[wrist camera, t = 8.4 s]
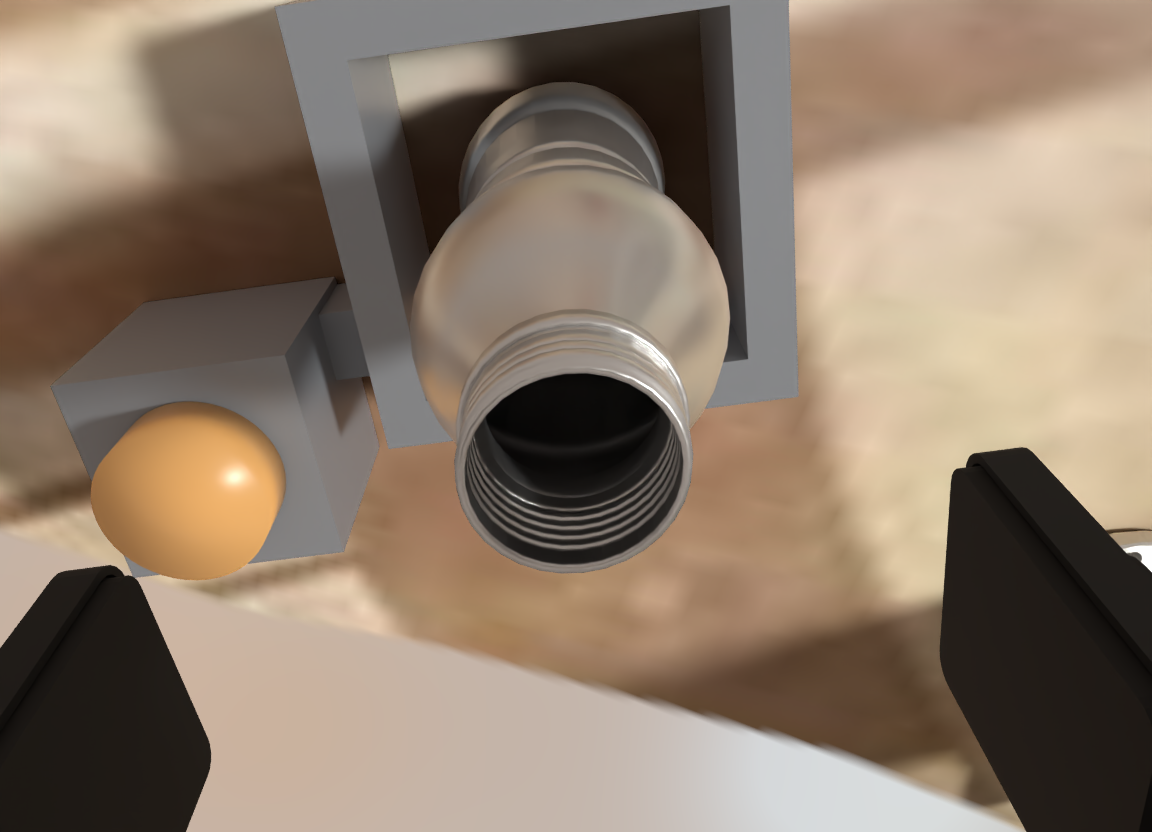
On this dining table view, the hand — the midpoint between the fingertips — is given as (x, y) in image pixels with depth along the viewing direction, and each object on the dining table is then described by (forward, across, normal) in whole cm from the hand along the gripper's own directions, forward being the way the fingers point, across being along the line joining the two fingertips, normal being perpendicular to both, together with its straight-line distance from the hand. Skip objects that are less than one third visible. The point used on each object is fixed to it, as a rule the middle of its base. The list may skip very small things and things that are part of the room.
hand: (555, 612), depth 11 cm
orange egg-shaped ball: (+20, +12, +6) cm, 24 cm away
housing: (+23, +4, +2) cm, 24 cm away
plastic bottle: (+24, 0, 0) cm, 24 cm away
